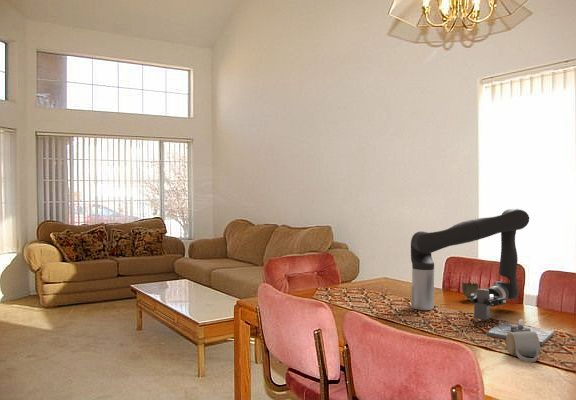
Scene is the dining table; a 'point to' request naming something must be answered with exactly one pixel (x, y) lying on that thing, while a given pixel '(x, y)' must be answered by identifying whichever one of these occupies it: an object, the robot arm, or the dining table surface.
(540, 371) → the dining table surface
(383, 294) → the dining table surface
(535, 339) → the ceramic mug
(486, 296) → the knob
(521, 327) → the base plate
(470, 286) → the cup
